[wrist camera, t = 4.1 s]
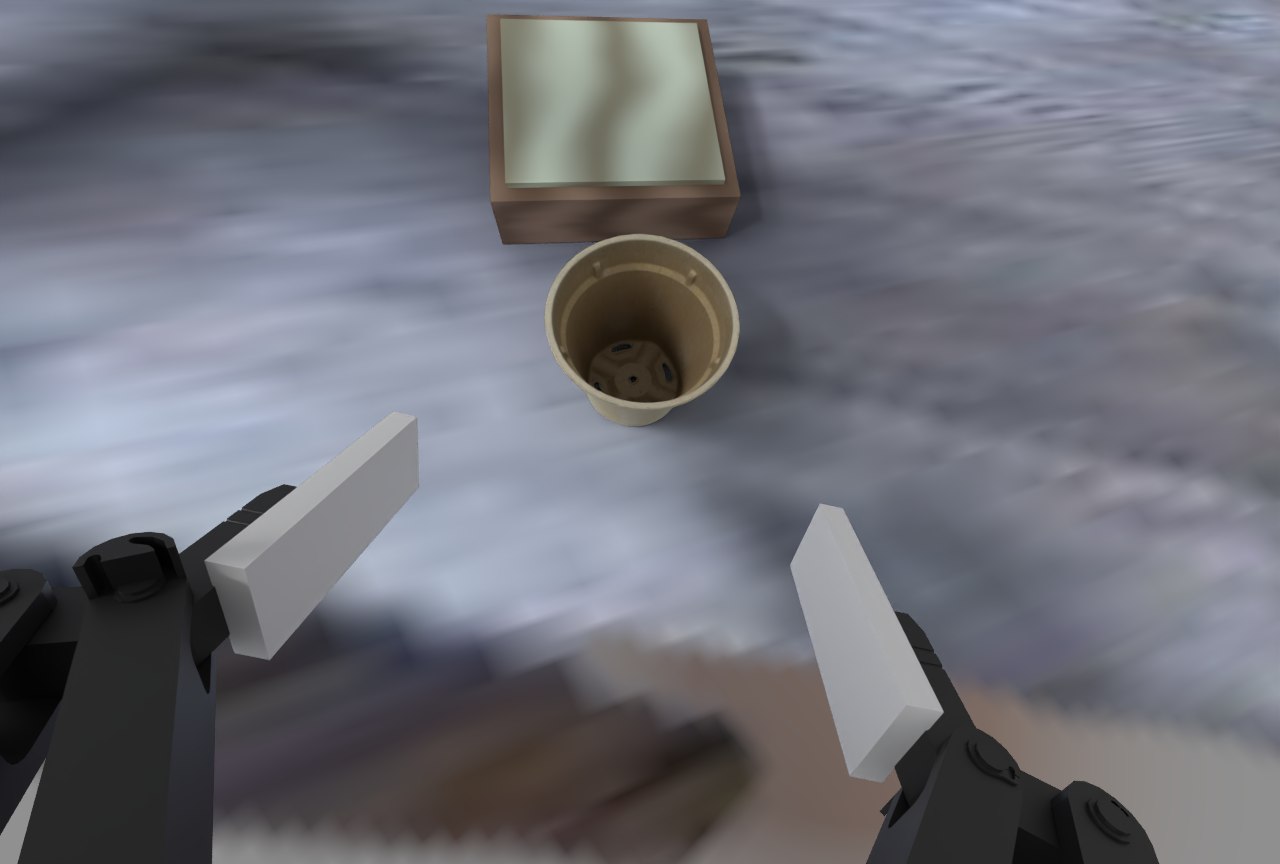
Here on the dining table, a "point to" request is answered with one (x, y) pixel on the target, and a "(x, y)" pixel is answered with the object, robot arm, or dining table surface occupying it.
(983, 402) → the dining table surface
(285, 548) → the robot arm
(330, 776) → the dining table surface
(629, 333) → the flower pot
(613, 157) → the brown flat square box
